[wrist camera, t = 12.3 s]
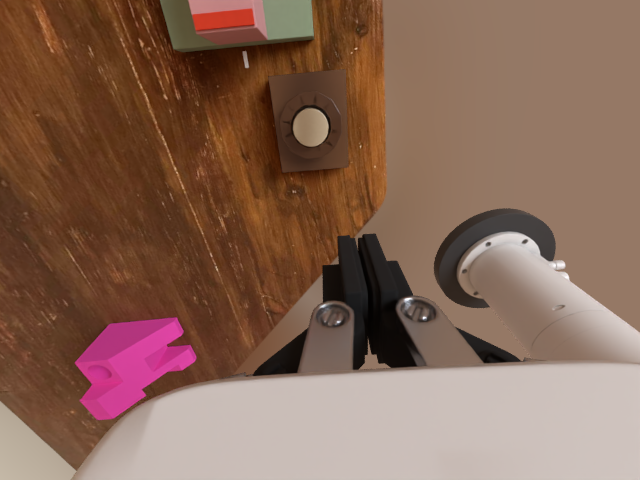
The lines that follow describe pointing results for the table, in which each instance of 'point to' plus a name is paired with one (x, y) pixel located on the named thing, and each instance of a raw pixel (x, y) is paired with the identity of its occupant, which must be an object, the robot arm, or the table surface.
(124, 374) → the bracket
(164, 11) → the green mat
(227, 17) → the pink bar
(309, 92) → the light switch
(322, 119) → the button
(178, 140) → the table surface
